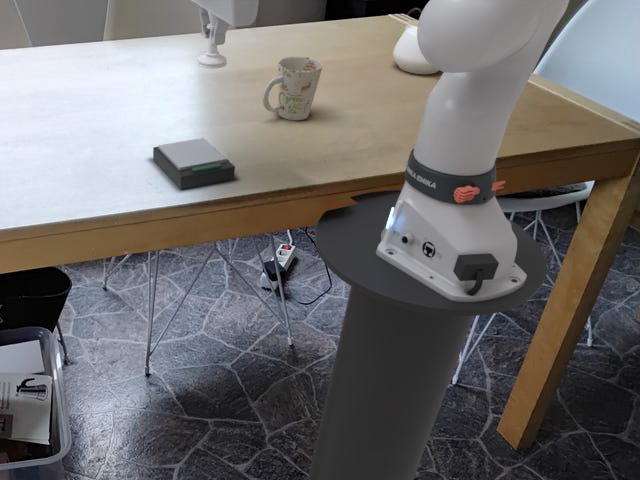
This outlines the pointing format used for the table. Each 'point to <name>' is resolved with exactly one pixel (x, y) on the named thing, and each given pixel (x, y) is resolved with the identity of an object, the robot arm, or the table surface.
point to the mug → (294, 87)
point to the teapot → (411, 53)
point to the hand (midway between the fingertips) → (212, 40)
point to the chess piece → (211, 51)
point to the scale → (193, 163)
